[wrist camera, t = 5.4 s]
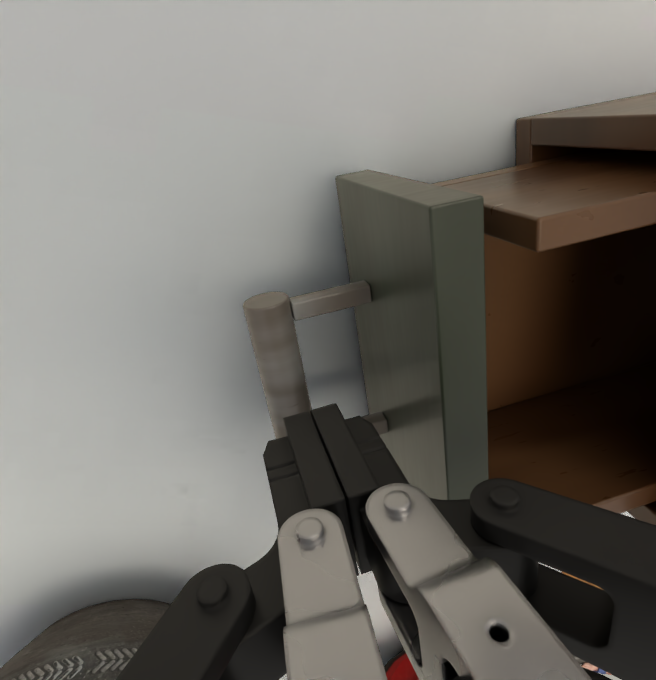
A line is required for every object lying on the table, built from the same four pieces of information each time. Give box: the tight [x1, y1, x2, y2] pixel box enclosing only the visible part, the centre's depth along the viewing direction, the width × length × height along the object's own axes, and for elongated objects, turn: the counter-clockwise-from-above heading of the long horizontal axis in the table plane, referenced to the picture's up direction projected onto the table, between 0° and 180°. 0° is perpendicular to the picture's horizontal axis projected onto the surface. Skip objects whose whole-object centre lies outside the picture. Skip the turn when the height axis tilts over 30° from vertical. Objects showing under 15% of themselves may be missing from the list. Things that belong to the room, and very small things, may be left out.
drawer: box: [243, 149, 656, 514], centre depth 16 cm, size 18×12×7 cm, turn 99°
